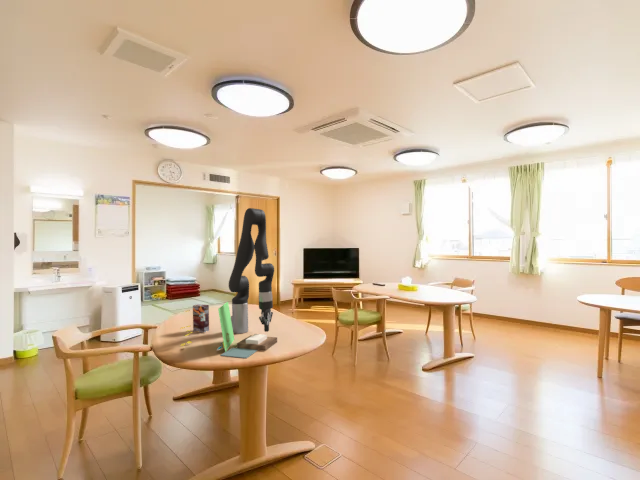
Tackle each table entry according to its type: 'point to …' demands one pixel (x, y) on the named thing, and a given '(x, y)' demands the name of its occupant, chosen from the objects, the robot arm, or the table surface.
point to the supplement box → (197, 324)
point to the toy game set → (225, 325)
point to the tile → (256, 339)
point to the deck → (262, 346)
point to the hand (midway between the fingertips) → (266, 331)
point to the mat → (239, 352)
